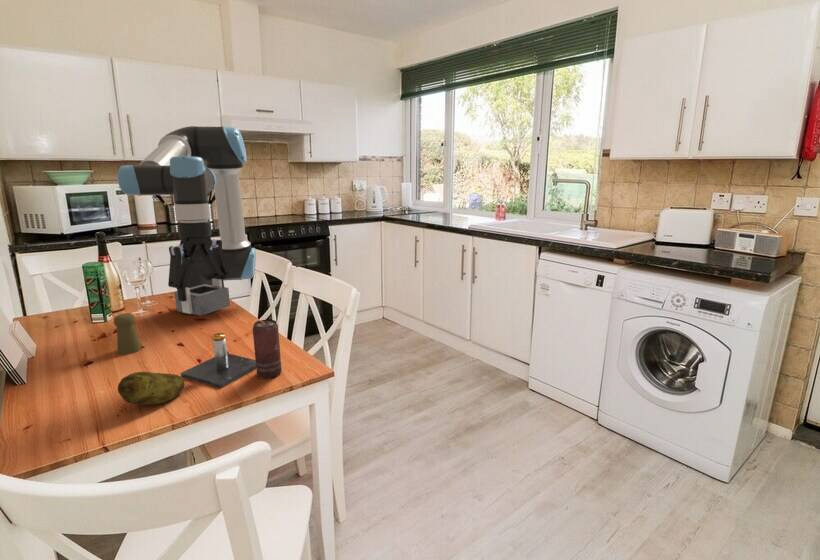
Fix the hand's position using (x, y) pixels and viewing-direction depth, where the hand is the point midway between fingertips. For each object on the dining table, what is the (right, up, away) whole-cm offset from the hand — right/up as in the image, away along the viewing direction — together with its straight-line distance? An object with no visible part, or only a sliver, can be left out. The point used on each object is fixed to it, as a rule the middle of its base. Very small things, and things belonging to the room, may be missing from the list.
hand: (204, 307), depth 115 cm
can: (+17, -17, 0) cm, 24 cm away
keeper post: (+5, -17, +1) cm, 17 cm away
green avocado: (-4, -21, -14) cm, 26 cm away
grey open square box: (0, 0, 0) cm, 0 cm away
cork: (-28, -14, +14) cm, 34 cm away
